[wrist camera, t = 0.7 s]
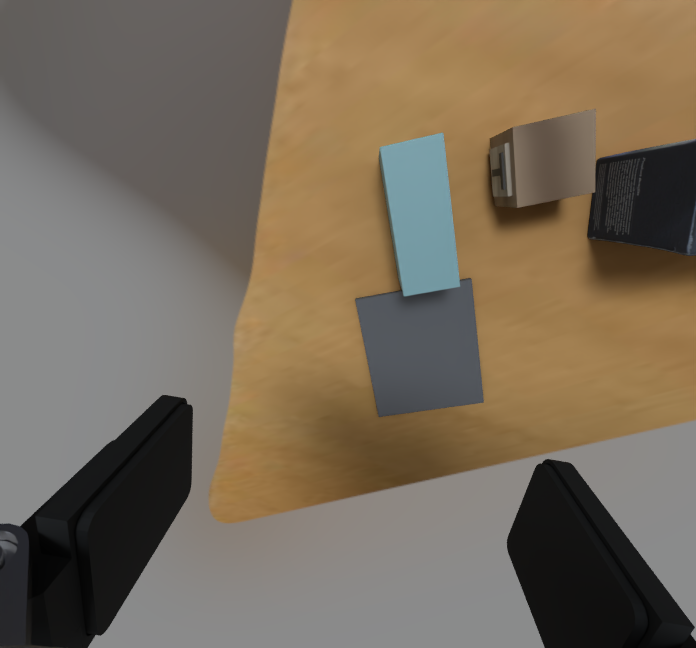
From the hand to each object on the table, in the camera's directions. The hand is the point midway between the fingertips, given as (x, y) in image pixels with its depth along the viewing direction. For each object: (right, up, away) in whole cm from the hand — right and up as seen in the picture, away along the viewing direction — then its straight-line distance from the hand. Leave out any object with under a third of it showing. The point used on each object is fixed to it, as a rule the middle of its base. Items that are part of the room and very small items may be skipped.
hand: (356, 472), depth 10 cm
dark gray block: (+7, +2, +24) cm, 25 cm away
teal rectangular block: (+5, +13, +21) cm, 25 cm away
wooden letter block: (+14, +16, +19) cm, 28 cm away
